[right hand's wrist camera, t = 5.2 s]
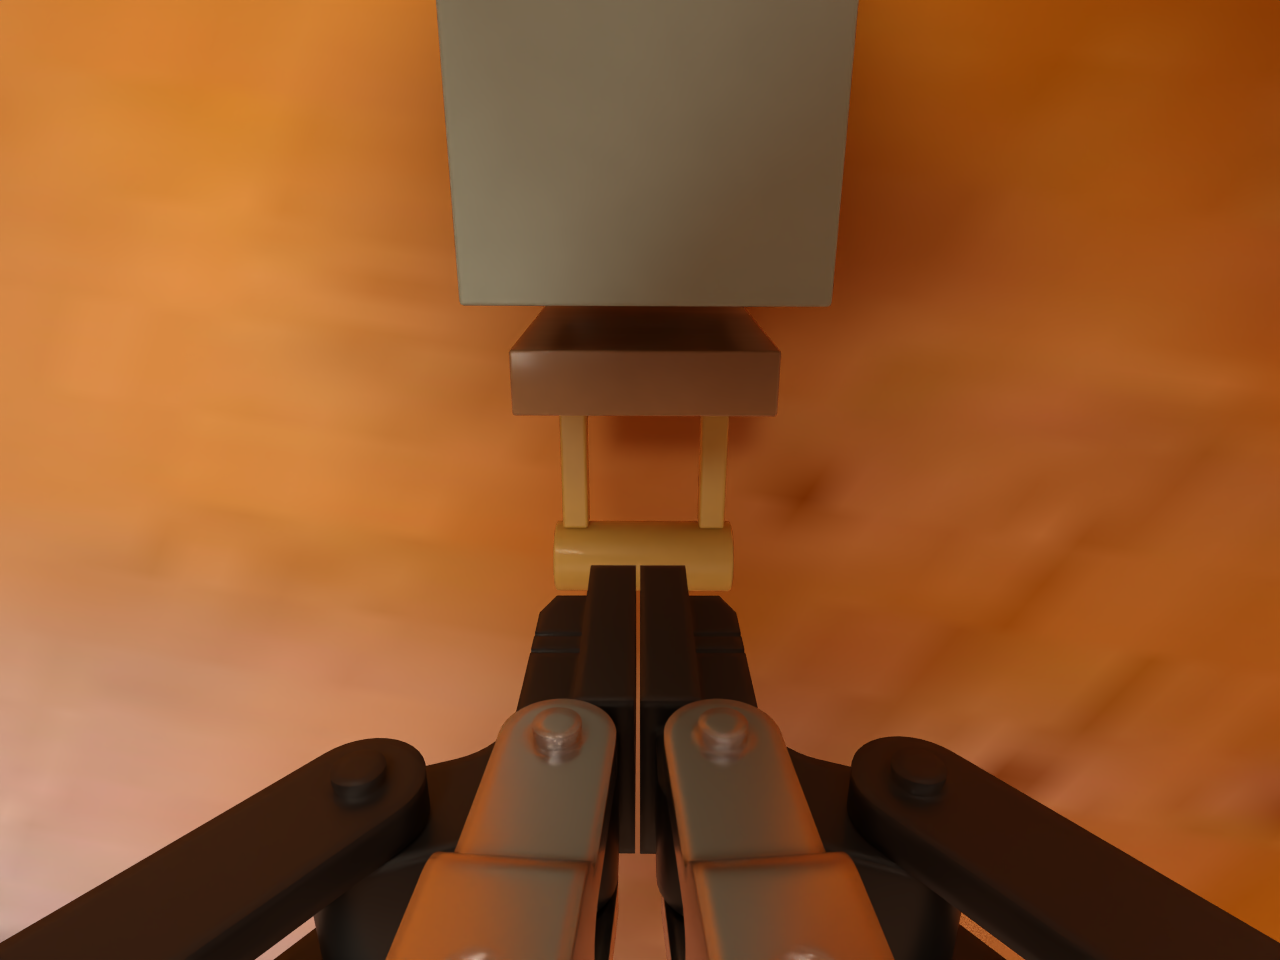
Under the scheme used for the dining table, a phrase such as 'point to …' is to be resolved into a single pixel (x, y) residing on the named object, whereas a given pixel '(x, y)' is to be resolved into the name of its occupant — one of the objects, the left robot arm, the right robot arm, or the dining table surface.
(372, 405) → the dining table surface
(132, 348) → the dining table surface
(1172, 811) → the dining table surface
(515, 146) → the grey rectangular box
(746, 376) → the drawer
